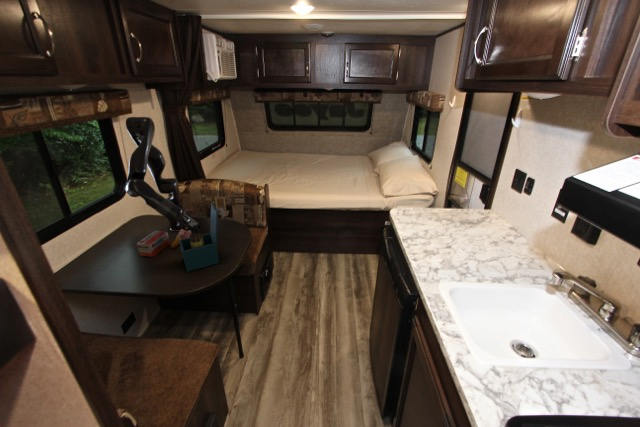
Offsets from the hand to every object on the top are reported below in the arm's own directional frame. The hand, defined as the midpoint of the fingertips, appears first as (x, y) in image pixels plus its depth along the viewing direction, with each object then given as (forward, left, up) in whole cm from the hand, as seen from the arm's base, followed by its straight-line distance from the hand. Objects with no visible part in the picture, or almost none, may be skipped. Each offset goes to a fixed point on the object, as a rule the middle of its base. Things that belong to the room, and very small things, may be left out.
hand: (199, 230), depth 146 cm
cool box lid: (-1, +7, +2) cm, 8 cm away
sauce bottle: (0, -2, -16) cm, 16 cm away
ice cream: (-23, -7, -19) cm, 30 cm away
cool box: (-1, -2, -18) cm, 19 cm away
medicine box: (-25, -22, -19) cm, 38 cm away
